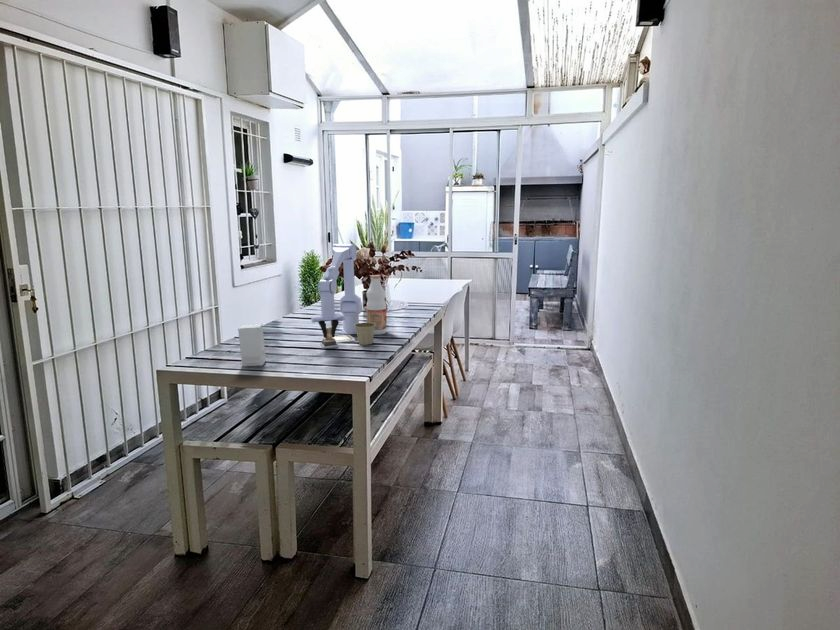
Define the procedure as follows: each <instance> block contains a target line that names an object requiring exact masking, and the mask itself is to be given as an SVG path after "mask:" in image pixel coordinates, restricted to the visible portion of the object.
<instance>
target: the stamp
mask: <svg viewBox="0 0 840 630" xmlns="http://www.w3.org/2000/svg"><path fill="white" fill-rule="evenodd" d="M321 343H323V344H324V345H330V344H336V341H335V339H334V338H333V337H332V326H326V338H324V337H323V338H322V339H321Z"/></svg>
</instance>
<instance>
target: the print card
mask: <svg viewBox="0 0 840 630" xmlns="http://www.w3.org/2000/svg"><path fill="white" fill-rule="evenodd" d="M333 338H334V339H335V341H336V343H337V344H340V343H342V344H343V343H351V342H352V343H353V342H356V341H357V340H356V338H354V337H353V336H351V334H343V335H335V336H334V337H333Z"/></svg>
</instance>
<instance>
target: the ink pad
mask: <svg viewBox="0 0 840 630" xmlns="http://www.w3.org/2000/svg"><path fill="white" fill-rule="evenodd" d="M320 346H321V347H322V348H323V349H332V348H339V343H336V344H330V345H324V344H323V343H322V342H320Z"/></svg>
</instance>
